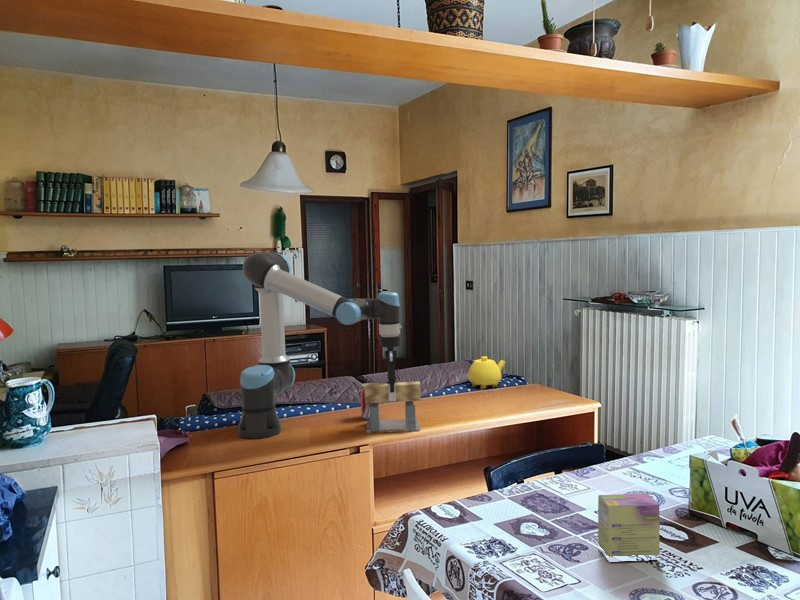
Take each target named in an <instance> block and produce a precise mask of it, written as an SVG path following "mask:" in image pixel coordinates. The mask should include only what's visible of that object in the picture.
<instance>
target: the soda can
mask: <svg viewBox="0 0 800 600" xmlns="http://www.w3.org/2000/svg"><path fill="white" fill-rule="evenodd" d="M365 384H377V382H366V383H362V384H361V387H360V408H361V413H360V414H361V418H363V419H364V420H366V421H367V420H370V403H365ZM380 404H381V403H378V406H379V417H380V415H381V409H380V407H381V405H380Z"/></svg>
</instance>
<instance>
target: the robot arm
mask: <svg viewBox="0 0 800 600" xmlns="http://www.w3.org/2000/svg"><path fill="white" fill-rule="evenodd" d="M291 271H292V270H291V265H290V262H289V260H288V259H287V257H285V256H284V255H283V254H281V253H278V252H273V251H269V252H254V253H251V254H250V255H248V256H247V257H246V258H245V259H244V260H243V264H242V273H243V276H244V278H245V280H246V281H248V282H249V283H251V284H252V285H254V289H255V291H257V292H258V293H259V307H260V309H259V310H260V327H261V331H260V332H261V351H262V356H261V357H260V358H259V359H258V365H253V366H249V367H247V368H245V369H244V370H242V371H241V374H240V382H239V383H240V395H241V411H242V412H241V417H240V420H239V424H238V428H237V432H238V433H237V435H238V436H239V437H240V438H243V439H250V440H251V439H264V438H269V437H273V436H276V435H278V434H280V433H281V432H282V422H281V420H280V419H279V415H278V413H277V410H276V397H277V396H279V395H281V394H283V393H286V392H287V391H288V390H289V389H290V388H291V387H292V386H293V384H294V382H295V381H296V380H295V379H296V371H295V370H294V367H293V366H292V365H291V359H290V357H289V356H288V355H287V354H286V337H285V333H286V331H285V314H284V311H285V310H284V296H287V297H288V298H290V299H293V300H296V301H298V302H299V303H303V304H305V305H307V306H309V307H311V308H313V309H315V310H318V311H320V312H321V313H325V314H327V315H329V316H331V317H334V318H335V319H337V321H338V322H339V323H341V324H343V325H345V326H348V325H355V324H356V323H358V322H361V321H363V320H378V333H379V335H380V336H379V346H380V347H381V348H386V350H384V355H385V356H384V357H385V363H386V365H387V373H386V375H387V381H386V382H385V383H386V384H388V394H389V401H396V383H397V381H396V379H398V378H397V376H396V363H397V350H395V349H394V348H398V347H400V346H401V345H402V343H401V335H400V334H401V329H402V325H401V323H400V322H401V321H400V318H401V317H400V306H401V305H400V297H399V293H397V292H391V291H387V292H379V293H378V294H377V297H376V298H356V297H355V298H347V297H344V296H342V295H339V294H337V293H335V292H332V291H330V290H328V289H326V288H325V287H324V288H323V287H321V286H320V285H317V284H315V283H312V282H310V281H308V280H306V279H304V278H301V277H299V276H296V275H294V274H292V273H291Z"/></svg>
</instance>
